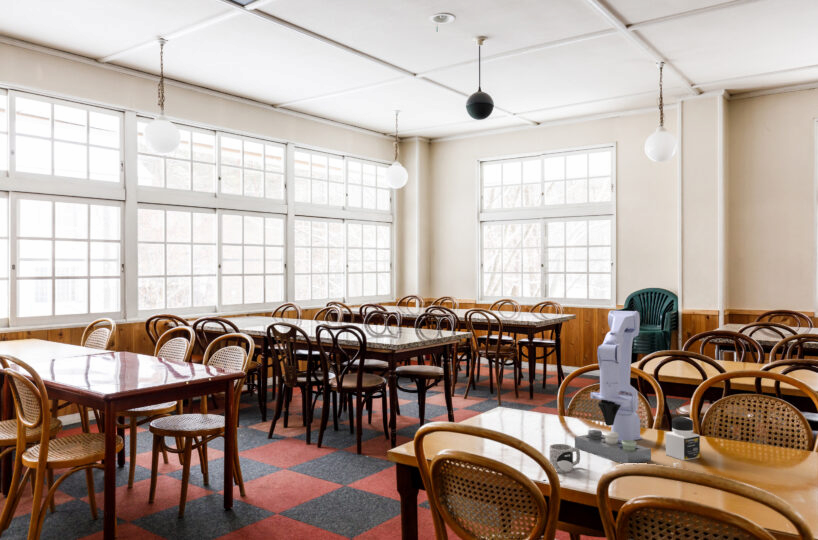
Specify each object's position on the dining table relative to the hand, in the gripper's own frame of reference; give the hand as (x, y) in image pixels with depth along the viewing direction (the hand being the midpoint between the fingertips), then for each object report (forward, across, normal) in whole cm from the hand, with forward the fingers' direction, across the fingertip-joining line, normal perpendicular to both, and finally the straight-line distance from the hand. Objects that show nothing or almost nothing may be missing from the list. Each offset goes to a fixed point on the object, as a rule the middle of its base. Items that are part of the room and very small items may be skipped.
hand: (609, 424), depth 201 cm
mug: (+9, +5, -23) cm, 25 cm away
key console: (+9, +1, 0) cm, 9 cm away
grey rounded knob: (+8, -6, 0) cm, 10 cm away
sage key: (+8, +8, 0) cm, 11 cm away
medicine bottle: (+9, +14, +17) cm, 24 cm away
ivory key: (+7, +1, 0) cm, 7 cm away
